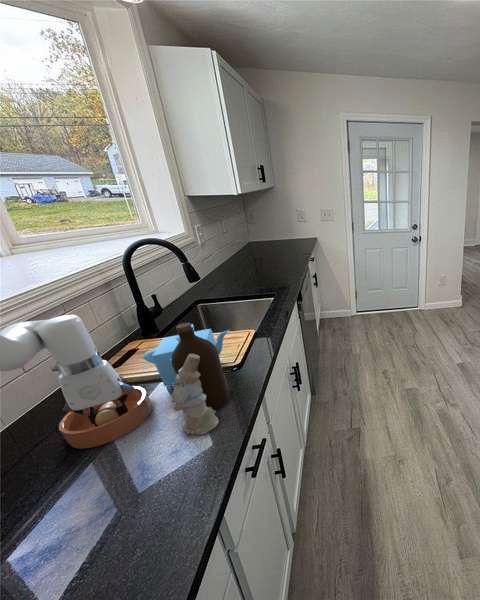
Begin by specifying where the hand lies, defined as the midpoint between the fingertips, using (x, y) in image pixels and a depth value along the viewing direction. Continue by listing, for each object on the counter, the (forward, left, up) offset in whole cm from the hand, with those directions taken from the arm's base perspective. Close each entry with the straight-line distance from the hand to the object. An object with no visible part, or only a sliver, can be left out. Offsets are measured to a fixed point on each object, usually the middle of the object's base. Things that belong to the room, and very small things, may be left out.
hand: (111, 419), depth 85 cm
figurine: (+22, -15, -1) cm, 27 cm away
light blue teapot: (+20, +13, -1) cm, 24 cm away
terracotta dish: (0, 0, -1) cm, 1 cm away
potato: (0, 0, 0) cm, 0 cm away
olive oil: (+24, -6, -1) cm, 25 cm away
